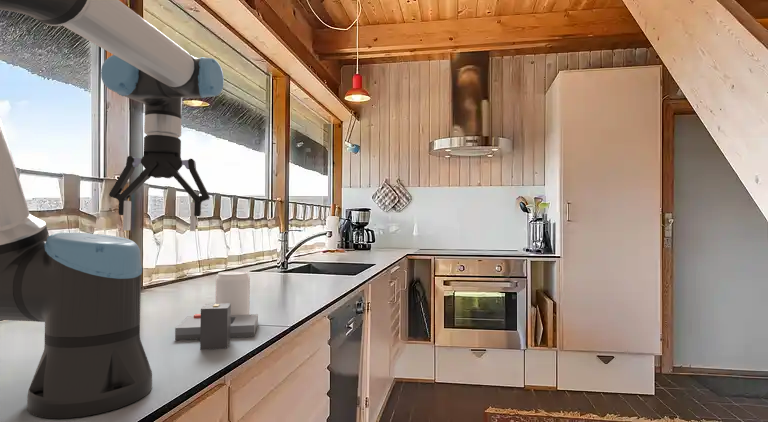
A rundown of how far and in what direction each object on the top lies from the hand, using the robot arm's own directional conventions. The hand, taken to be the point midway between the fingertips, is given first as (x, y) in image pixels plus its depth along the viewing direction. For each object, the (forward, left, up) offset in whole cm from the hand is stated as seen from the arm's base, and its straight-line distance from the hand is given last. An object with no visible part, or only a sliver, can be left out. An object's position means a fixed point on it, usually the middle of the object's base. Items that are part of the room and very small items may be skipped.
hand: (160, 230), depth 102 cm
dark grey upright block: (-13, -14, -23) cm, 30 cm away
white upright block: (+9, -15, -23) cm, 29 cm away
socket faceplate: (-2, -13, -23) cm, 26 cm away
